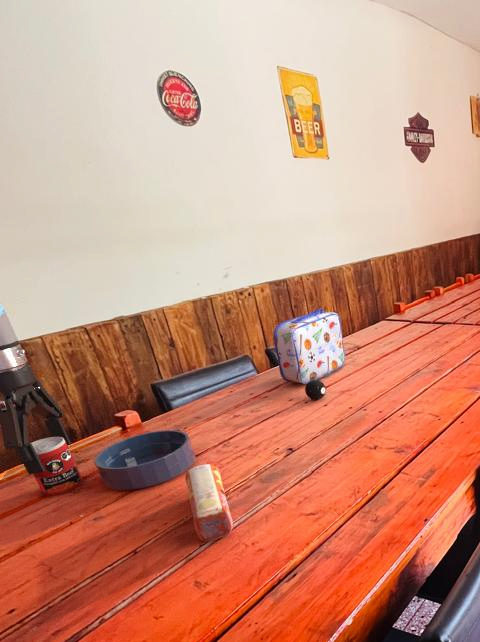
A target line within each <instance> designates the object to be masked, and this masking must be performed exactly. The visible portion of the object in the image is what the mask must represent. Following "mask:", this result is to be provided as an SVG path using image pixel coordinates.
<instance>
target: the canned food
mask: <svg viewBox="0 0 480 642" xmlns="http://www.w3.org/2000/svg"><path fill="white" fill-rule="evenodd" d="M31 443H32V445H33V447H34V449H35V451H36V453H37V455H38V457H39V459H40V461H41V463H42V465H43V467H44V469H45V471H44V472H41V473H35V474H32V475H33V477H34V479H35V481H36V483H37V484H38V486H39V488H40V490H41V492H42V493H43V494H45V496H57V495H58V496H59V495H62V494H65V493H68V492H71V491H73V490H75V489H77V488H78V487H79V486H81V484H82V483H83V477H82V475H81V472H80V469H79V468H78V465H77V463H76V461H75V459H74V456H73V454H72V452H71V450H70V447H69V445H67V444H66V442H65V440H64V438H62V437H52V436H51V437H45V438H41V439H38V440H35V441H33V442H30V443H29V444H31Z"/></svg>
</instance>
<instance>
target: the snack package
mask: <svg viewBox="0 0 480 642" xmlns="http://www.w3.org/2000/svg"><path fill="white" fill-rule="evenodd" d="M185 483H186V486H187V492H188V493H187V494H188V499H189V503H190V508H191V512H192V519H193V526H194V529H195V532H196V534H197V537H198V538H199V540H201V541H202V542H206V543H208V542H213V541H214V540H215V541H216V540H218V539H220V538H223V537H225V536H228V535H229V534H231V532H232V530H233V528H234V522H233V518H232V514H231V511H230V507H229V504H228V500H227V496H226V492H225V489H224V486H223V481H222V475H221V471H220V469H219V468H218V467H217V466H216V465H214V464H213V463H212V464H211V463H206V464H201V465H197V466H194V467H192V468H189V469H188V471H186V474H185Z"/></svg>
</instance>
